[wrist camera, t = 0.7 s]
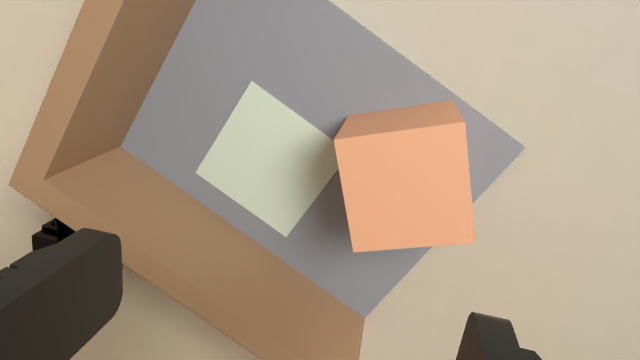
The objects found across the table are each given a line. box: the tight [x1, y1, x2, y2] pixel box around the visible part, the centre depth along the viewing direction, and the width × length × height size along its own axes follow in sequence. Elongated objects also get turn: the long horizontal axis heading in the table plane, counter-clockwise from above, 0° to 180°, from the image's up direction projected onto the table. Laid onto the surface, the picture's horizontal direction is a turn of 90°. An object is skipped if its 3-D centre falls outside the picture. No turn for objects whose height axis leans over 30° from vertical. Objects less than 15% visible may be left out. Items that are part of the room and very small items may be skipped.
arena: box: [9, 0, 525, 360], centre depth 26 cm, size 22×17×8 cm
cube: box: [334, 100, 475, 252], centre depth 24 cm, size 6×6×6 cm
